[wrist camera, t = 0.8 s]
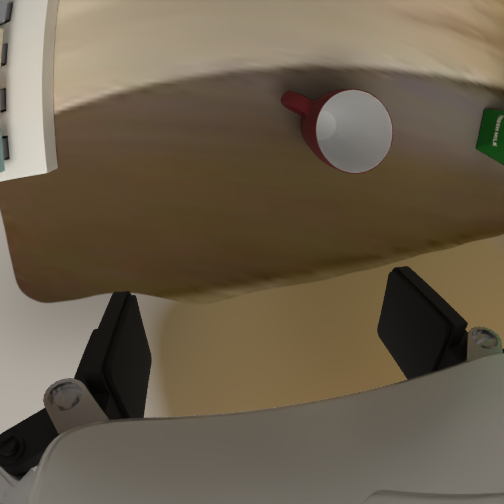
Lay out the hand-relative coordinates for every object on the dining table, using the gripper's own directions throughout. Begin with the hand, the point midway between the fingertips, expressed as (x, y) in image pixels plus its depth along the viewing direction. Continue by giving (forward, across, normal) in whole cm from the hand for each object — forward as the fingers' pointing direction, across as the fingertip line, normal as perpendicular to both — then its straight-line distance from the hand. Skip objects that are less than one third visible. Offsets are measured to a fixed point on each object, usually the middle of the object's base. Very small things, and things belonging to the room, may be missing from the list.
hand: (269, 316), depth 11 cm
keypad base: (+28, +27, -16) cm, 42 cm away
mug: (+28, -10, -6) cm, 31 cm away
